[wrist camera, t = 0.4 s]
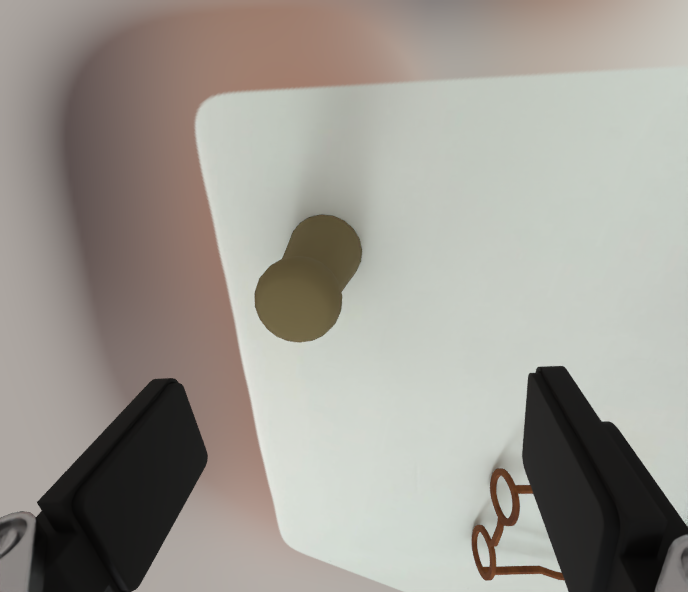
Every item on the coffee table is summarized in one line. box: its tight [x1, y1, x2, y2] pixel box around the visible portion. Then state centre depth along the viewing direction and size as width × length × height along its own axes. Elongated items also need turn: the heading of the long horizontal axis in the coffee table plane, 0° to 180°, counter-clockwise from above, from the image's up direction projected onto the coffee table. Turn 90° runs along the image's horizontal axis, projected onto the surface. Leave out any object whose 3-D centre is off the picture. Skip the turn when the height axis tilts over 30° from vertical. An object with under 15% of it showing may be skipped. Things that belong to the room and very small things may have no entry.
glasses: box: [472, 469, 564, 580], centre depth 38 cm, size 13×13×5 cm
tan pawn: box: [255, 215, 362, 342], centre depth 27 cm, size 6×6×11 cm
